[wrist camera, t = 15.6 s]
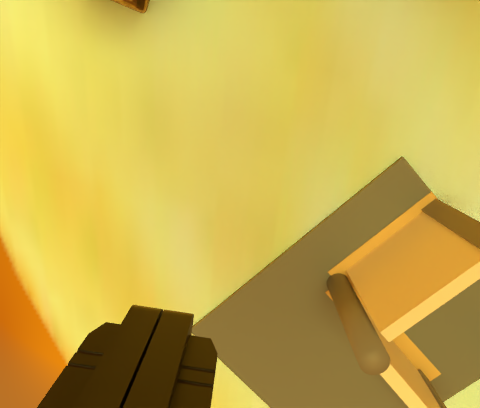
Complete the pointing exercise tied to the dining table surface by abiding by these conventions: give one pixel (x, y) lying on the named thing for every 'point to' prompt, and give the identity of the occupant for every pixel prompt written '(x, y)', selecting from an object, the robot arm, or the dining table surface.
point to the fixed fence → (406, 280)
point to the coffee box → (134, 4)
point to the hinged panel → (407, 377)
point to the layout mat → (327, 318)
